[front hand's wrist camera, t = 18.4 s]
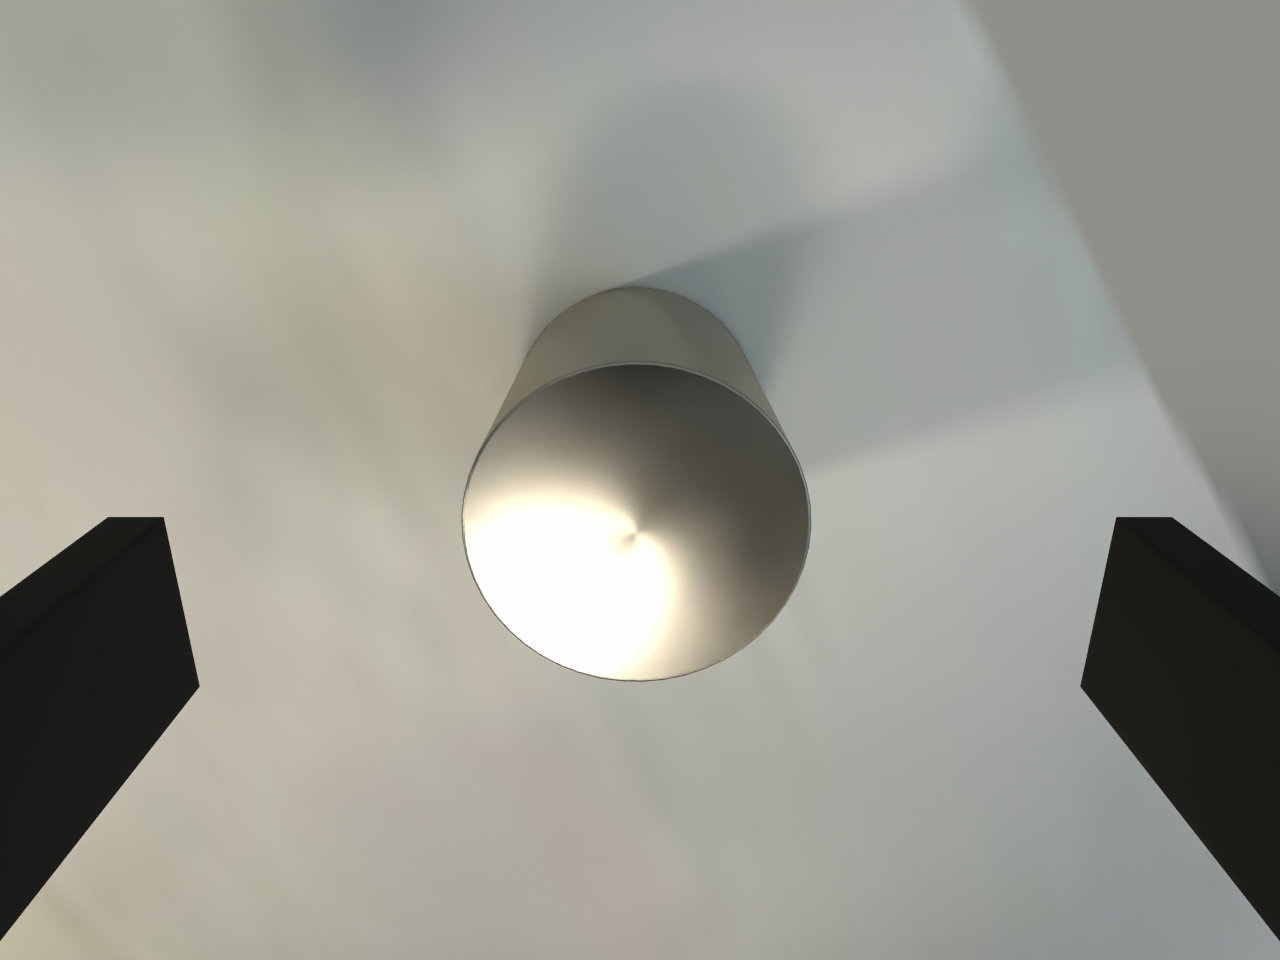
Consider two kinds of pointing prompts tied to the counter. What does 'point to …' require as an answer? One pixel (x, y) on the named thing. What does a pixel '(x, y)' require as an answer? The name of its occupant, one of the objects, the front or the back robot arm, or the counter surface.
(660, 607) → the can
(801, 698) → the counter surface
